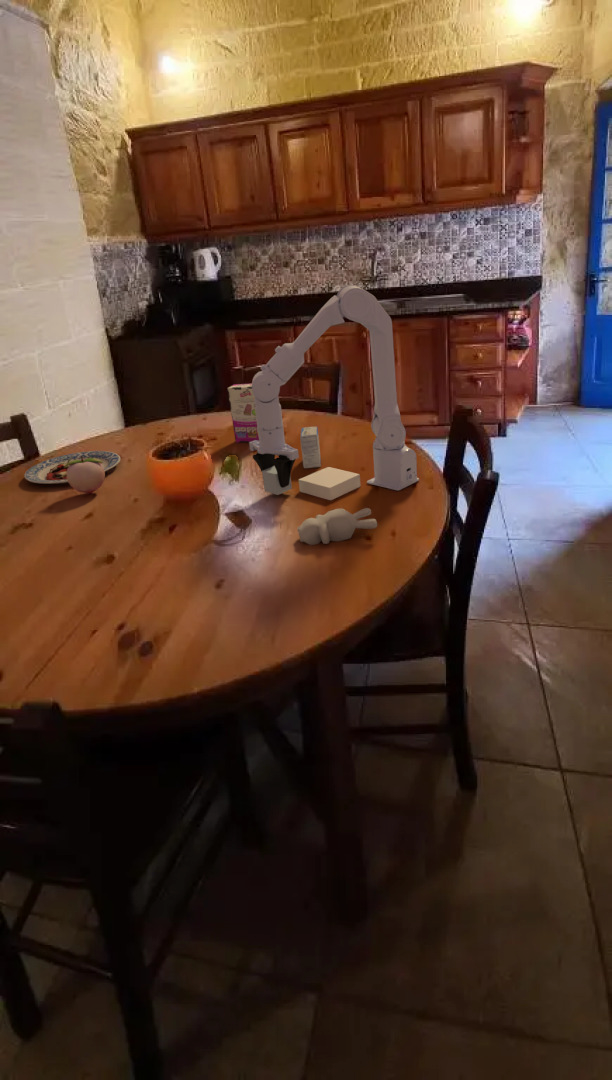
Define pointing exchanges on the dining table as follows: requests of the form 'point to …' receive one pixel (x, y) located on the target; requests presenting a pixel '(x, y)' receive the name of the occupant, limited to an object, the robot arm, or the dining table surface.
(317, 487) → the base brick
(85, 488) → the decorative fruit
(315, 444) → the medicine box
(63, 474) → the ceramic plate
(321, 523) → the bunny figurine
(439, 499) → the dining table surface
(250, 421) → the candy bar box
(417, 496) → the dining table surface
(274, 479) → the blue-grey brick
